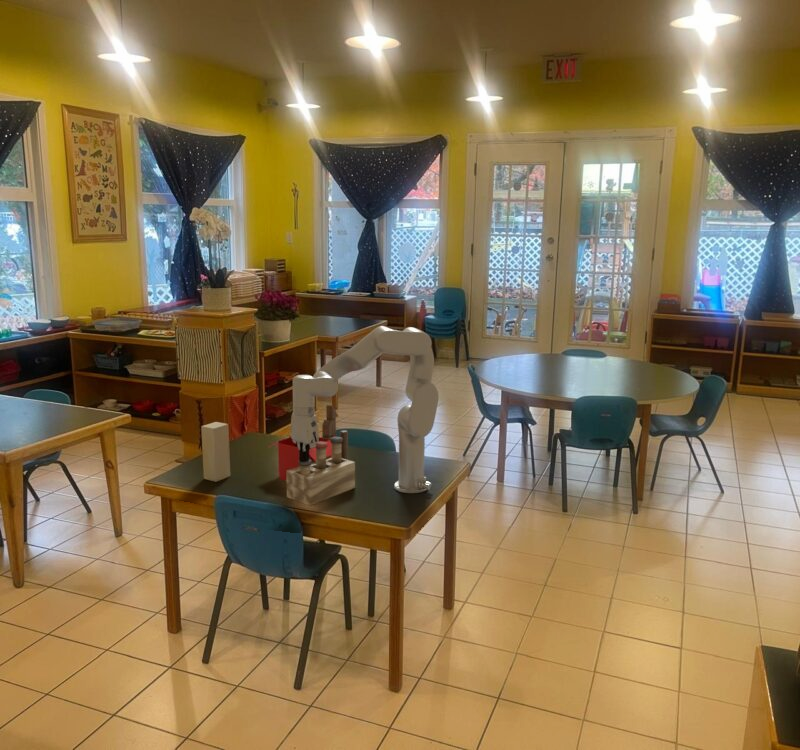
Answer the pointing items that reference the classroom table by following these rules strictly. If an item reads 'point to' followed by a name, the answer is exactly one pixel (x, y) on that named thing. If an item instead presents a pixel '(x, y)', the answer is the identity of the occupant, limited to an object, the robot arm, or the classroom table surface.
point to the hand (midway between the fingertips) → (304, 460)
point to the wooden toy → (334, 430)
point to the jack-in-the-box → (294, 454)
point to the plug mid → (321, 455)
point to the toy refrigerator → (215, 451)
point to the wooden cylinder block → (320, 481)
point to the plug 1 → (305, 467)
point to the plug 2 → (336, 449)
